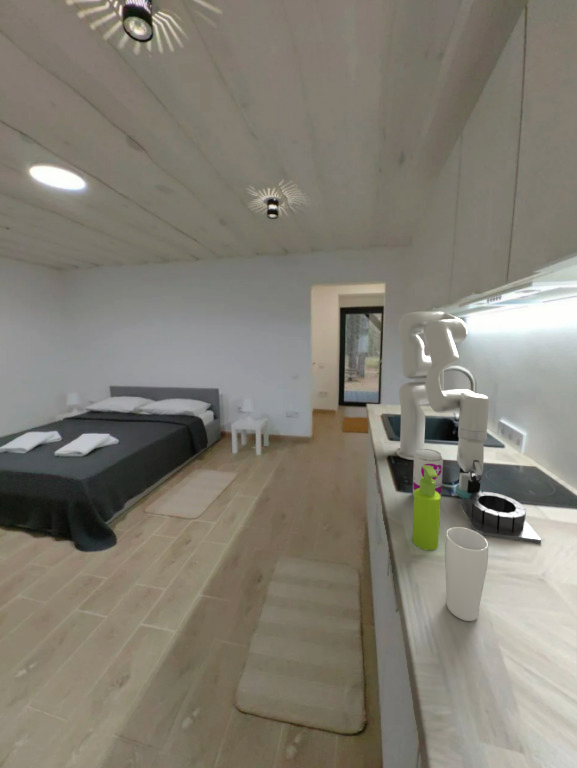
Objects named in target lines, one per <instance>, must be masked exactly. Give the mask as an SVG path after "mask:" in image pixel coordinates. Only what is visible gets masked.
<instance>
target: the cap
mask: <svg viewBox="0 0 577 768" xmlns="http://www.w3.org/2000/svg"><path fill="white" fill-rule="evenodd" d="M474 475H475V474H473V473H472V477H473V476H474ZM458 479H459V480H458V481H459V483H458V484H457V485H456V486H455V494H457V495H456V496H457V497H458V496H459V499H464V500H469V497H470V496H471V493H468V492H467V488H468V480H469V473H460V477H459V476H458ZM480 492H482V490H481V489H480Z"/></svg>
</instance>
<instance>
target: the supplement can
mask: <svg viewBox="0 0 577 768" xmlns="http://www.w3.org/2000/svg"><path fill="white" fill-rule="evenodd" d="M422 465H429V466H431V467H432V468H433V469H434V470H435V472H436V473H437V476H438V477H437V478H433V477H432V479H434V480H435V491H436V492H438V493H439V494H440V496H441V497H442V492H443V491H442V489H443V488H442V487H443V468H444V467H443V466H444V459H443V456H442V453H441V452H439V451H437V450H434V449H429V448H424V449H419V450H417V451H416V453H415V455H414V460H413V470H412V471H413V475H412V496H413V497H414V491H415V490H416V489H418V488H420V479H421V478H423V477H424V469H423V468H422Z"/></svg>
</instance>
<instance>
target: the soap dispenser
mask: <svg viewBox="0 0 577 768" xmlns="http://www.w3.org/2000/svg"><path fill="white" fill-rule="evenodd" d="M422 468H423V469H424V477H423V478H421V479H420V488H418V489H416V490H415V491H414V496H413V511H412V512H413V513H412V514H413V517H412V521H413V522H412V543H413V544H414V546H416V547H418V548H419V549H422V550H426V551H434V550H435V551H436V549H438V547H439V538H440V537H439V536H440V534H439V533H440V515H441V500H442V495H441V496H440V494H439V493H438V492H436V491H435V480H434V479H432V477H433V478H437V477H438V476H437V473H436V472H435V470H434V469H433V468H432V467H431V466H429V465H422Z"/></svg>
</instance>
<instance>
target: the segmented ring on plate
mask: <svg viewBox="0 0 577 768" xmlns="http://www.w3.org/2000/svg"><path fill="white" fill-rule="evenodd" d="M458 503H459V505H460V508H461V509H462V511H463V513H464V515H465V517H466V519H467V520H468V522H469V524H470V526H471V528H472V530H473V531H475V532H477V533H479V534H481V535H482V536H483V537H484V538H485V537H487V538H495V539H503V540H510V541H520V542H528V543H534V544H542V539H541V537H540V536H539V535H538V534H537V533H536V531H534V529H533V528H532V526H531V525H530V524H529V523H528V522H527V521H526V515H527V509H526V508H525V507H524V505H522V503H521V502H519V501H517V500H516V499H514V498H512V497H510V496H509V497H508V496H506V495H504V494H501V493H500V494H499V493H496V492H495V493H494V492H490V491H481V492H477V493H473V494H471V496H470V497H469V500H465V499H462V498H458Z"/></svg>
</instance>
